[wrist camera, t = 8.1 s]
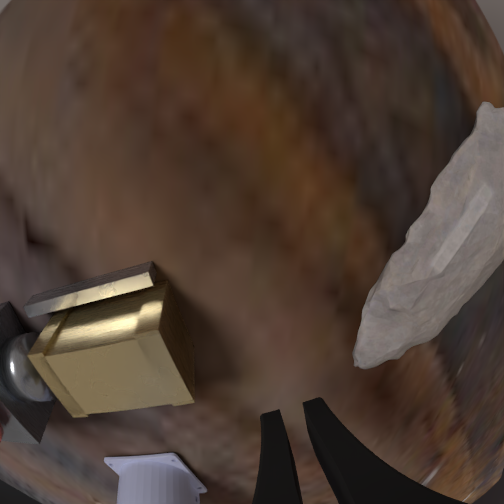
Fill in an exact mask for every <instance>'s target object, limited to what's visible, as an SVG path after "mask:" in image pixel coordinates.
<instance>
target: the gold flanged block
mask: <svg viewBox="0 0 504 504" xmlns="http://www.w3.org/2000/svg"><path fill="white" fill-rule="evenodd" d="M27 356H28V358H29V359H30V361H31V362H32V364H33V365H34V367H35V368H36V370H37V371H38V372H39V374H40V375H41V377H42V378H43V379H44V381H45V382H46V384H47V385H48V386H49V388H50V389H51V390H52V392H53V393H54V394H55V396H56V397H57V398H58V399H59V401H60V402H61V403H62V404H63V406H64V407H65V408H66V409H67V411H68V412H69V413H70V414H71V415H72V417H73V418H74V417H88V416H89V414H93V413H104V412H114V411H123V410H131V409H139V408H146V407H153V406H160V405H166V404H173V406H178V405H184V404H189V403H195V390H194V345H193V342H192V340H191V338H190V335H189V333H188V330H187V328H186V326H185V323H184V321H183V318H182V316H181V313H180V311H179V308H178V306H177V303H176V300H175V298H174V295H173V293H172V290H171V287H170V285H169V282H168V280H164V281H161V282H157V283H154V285H153V286H150V287H148V288H147V289H146V290H142V291H138V292H134V293H130V294H127V295H123V296H119V297H115V298H111V299H107V300H103V301H99V302H95V303H92V304H88V305H84V306H80V307H76V308H73V307H69V308H65V309H61V310H58V311H55V313H54V314H53V316H52V317H51V319H50V320H49V322H48V323H47V325H46V326H45V328H44V329H43V331H42V332H41V334H40V336H39V337H38V339H37V340H36V342H35V343H34V345H33V347H32V348H31V350H30V351H29V353H28V355H27Z"/></svg>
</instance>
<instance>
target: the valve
mask: <svg viewBox="0 0 504 504" xmlns="http://www.w3.org/2000/svg"><path fill="white" fill-rule="evenodd" d="M156 275H157V273H156V270H155V268H154V265H153V262H152V261H151V262H147V263H144V264H140V265H137V266H133V267H130V268H126V269H122V270H119V271H115V272H112V273H108V274H105V275H101V276H98V277H94V278H91V279H87V280H84V281H81V282H77V283H74V284H70V285H67V286H63V287H60V288H57V289H53V290H50V291H46V292H43V293H40V294H36V295H33V296H32V297H31V298H30V299H29V301H28V302H27V303H26V304H25V305H24V306H23V308H24V310H25V312H26V313H27V315H28V317H29V318H30V317H34V316H38V315H42V314H46V313H50V312H54V311H58V310H61V309H65V308H69V307H73V306H77V305H81V304H85V303H89V302H93V301H97V300H100V299H104V298H108V297H112V296H116V295H120V294H124V293H127V292H131V291H135V290H139V289H143V288H147V287H150V286H153V285H154V281H155V278H156ZM39 336H40V333H38V332H31V333H26V332H25V330H24V329H23V327H22V325H21V323H20V322H19V320H18V318H17V316H16V314H15V312H14V310H13V309H12V307H11V305H10V303H9V301H8V302H5V303H2V304H0V442H1V440H2V441H10V442H20V443H32V444H40V442H41V439H42V436H43V433H44V431H45V428H46V425H47V422H48V420H49V417H50V414H51V412H52V409H53V406H54V404H55V401H56V399H57V397H56V396H55V394H54V393H53V392H52V390H51V389H50V388H49V386H48V385H47V384H46V382H45V381H44V379H43V378H42V377H41V375H40V374H39V372H38V371H37V370H36V368H35V367H34V365H33V364H32V362H31V361H30V359H29V358H28V356H27V355H28V353H29V351H30V350H31V348H32V347H33V345H34V343H35V342H36V340H37V339H38V337H39Z"/></svg>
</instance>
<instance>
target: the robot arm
mask: <svg viewBox="0 0 504 504" xmlns="http://www.w3.org/2000/svg"><path fill="white" fill-rule="evenodd" d="M303 408H304V413H305V419H306V424H307V430H308V434H309V437H310V440H311V443H312V446H313V449H314V451H315V454H316V457H317V459H318V461H319V463H320V465H321V467H322V469H323V471H324V473H325V475H326V477H327V480H328V482H329V484H330V486H331V488H332V490H333V492H334V494H335V496H336V498H337V500H338V503H339V504H468V503H465V502H462V501H458V500H455V499H453V498H450V497H447V496H445V495H442V494H440V493H438V492H435V491H433V490H431V489H429V488H427V487H425V486H423V485H421V484H419V483H417V482H415V481H414V480H412V479H410V478H408V477H406V476H405V475H403V474H402V473H400V472H398V471H397V470H395V469H394V468H393V467H391V466H390V465H388V464H387V463H385V462H384V461H383V460H381V459H380V458H379V457H378V456H376V455H375V454H374V453H373V452H371V451H370V450H369V449H368V448H367V447H366V446H364V445H363V444H362V443H361V442H360V441H359V440H358V439H357V438H356V437H355V436H354V435H353V434H352V433H351V432H350V431H349V430H348V429H347V428H346V427H345V426H344V425H343V424H342V423H341V422H340V421H339V419H338V418H337V417H336V416H335V415H334V414H333V412H332V411H331V410H330V409H329V407H328V406H327V404H326V403H325V402H324V400H323V399H322V398H320V397H318V398H315V399H312V400H309V401H306V402H303ZM260 420H261V454H260V464H259V472H258V477H257V483H256V489H255V494H254V498H253V502H252V504H303V501H302V496H301V491H300V486H299V481H298V476H297V471H296V466H295V461H294V457H293V454H292V450H291V447H290V443H289V440H288V436H287V433H286V429H285V426H284V422H283V419H282V416H281V413H280V410H275V411H271V412H268V413H264V414H262V415H261V416H260ZM104 462H105V463H106V464H107V465H108V466H109V467H110V468H112V469H113V470H114V471H115V472H116V473H117V474H118V475H119V485H118V495H117V504H200V497H199V493H205V492H207V488H206V487H205V486H204V485H203V484H202V483H201V482H200V481H199V480H198V478H197V477H196V476H195V475H194V474H193V473H192V472H191V471H190V469H189V468H188V467H187V466H186V465H185V464H184V463H183V461H182V460H181V459H180V458H179V457H178V455H177V454H175V453H164V454H154V455H141V456H125V457H105V458H104Z"/></svg>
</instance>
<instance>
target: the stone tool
mask: <svg viewBox="0 0 504 504" xmlns="http://www.w3.org/2000/svg"><path fill="white" fill-rule="evenodd" d="M503 259H504V108H494V106H493V105H492V104H491V103H490V102H482V104H481V106H480V107H479V109H478V111H477V113H476V120H475V124H474V128H473V130H472V132H471V134H470V136H469V137H467V138H466V139H465V140H464V141H463V143H462V144H461V145H460V147H459V148H458V149H457V150H456V151H455V152H454V154H453V155H452V157H451V159H450V162H449V163H448V165H447V166H446V167H445V168H444V169H443V171H442V172H441V173H440V174H439V175H438V177H437V178H436V180H435V182H434V183H433V185H432V187H431V194H430V198H429V201H428V203H427V205H426V207H425V209H424V211H423V213H422V214H421V216H420V217H419V218H418V219H417V220H416V221H415V222H414V223H413V224H412V225H411V227H410V228H409V230H408V232H407V234H406V239H405V243H404V244H403V246H402V247H401V248H400V249H399V250H397V251H396V252H394V253H393V254H392V255H391V258H390V259H389V261H388V262H387V264H386V266H385V268H384V270H383V271H382V273H381V275H380V277H379V279H378V280H377V282H376V283H375V285H374V286H373V287H372V288H371V290H370V292H369V294H368V297H367V300H366V302H365V305H364V307H363V310H362V320H361V325H360V327H359V330H358V336H357V341H356V344H355V347H354V350H353V353H352V354H353V358H354V366H355V367H357V366H359V367H360V368H362V369H369V368H372V367H376V366H378V365H380V364H381V363H383V362H385V361H387V360H390V359H399V358H400V357H401V356H402V355H403V354H404V353H405V351H406V350H407V349H409V348H410V347H412V346H414V345H418V344H421V343H425V342H428V341H429V340H431V339H432V338H434V337H435V336H437V335H438V334H439V333H440V331H441V330H442V329H443V328H444V326H445V325H446V324H447V323H448V321H449V320H450V319H451V318H452V317H453V316H454V315H457V313H458V312H459V310H460V308H461V307H462V305H463V304H465V303H466V302H468V300H469V299H470V298H471V297H472V296H473V295H474V294H475V293H476V292H477V291H478V290H479V288H480V287H481V286H482V285H483V284H484V283H485V282H486V280H487V279H488V278H489V277H490V276H491V275H492V273H493V272H494V271H495V269H496V268H497V267H498V266H499V265H500V264H501V262H502V261H503Z"/></svg>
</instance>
